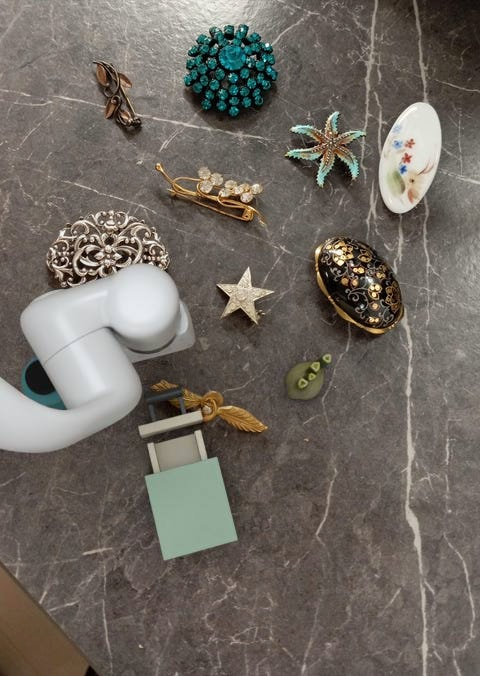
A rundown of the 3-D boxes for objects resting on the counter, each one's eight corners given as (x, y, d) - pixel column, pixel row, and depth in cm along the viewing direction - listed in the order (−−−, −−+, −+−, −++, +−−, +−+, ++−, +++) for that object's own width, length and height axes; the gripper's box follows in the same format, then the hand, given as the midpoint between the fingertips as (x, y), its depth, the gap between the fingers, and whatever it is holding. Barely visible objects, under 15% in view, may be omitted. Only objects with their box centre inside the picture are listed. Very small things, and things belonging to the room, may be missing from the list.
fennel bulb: (316, 359, 126) (330, 347, 114) (328, 393, 125) (343, 384, 113) (277, 372, 125) (287, 361, 113) (288, 406, 124) (299, 398, 112)
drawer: (133, 400, 122) (131, 396, 116) (192, 385, 123) (193, 380, 117) (156, 499, 119) (155, 500, 113) (216, 483, 120) (218, 483, 114)
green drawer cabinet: (147, 476, 121) (144, 476, 112) (215, 458, 122) (217, 456, 114) (165, 555, 118) (163, 560, 110) (234, 536, 119) (238, 540, 111)
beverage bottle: (97, 380, 123) (81, 362, 104) (72, 424, 122) (51, 414, 102) (55, 358, 124) (31, 335, 104) (30, 401, 122) (1, 386, 103)
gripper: (86, 369, 97) (102, 386, 114) (221, 335, 98) (216, 357, 116) (71, 302, 98) (89, 329, 116) (204, 270, 100) (202, 301, 118)
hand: (153, 343), depth 116 cm, fingers closed
